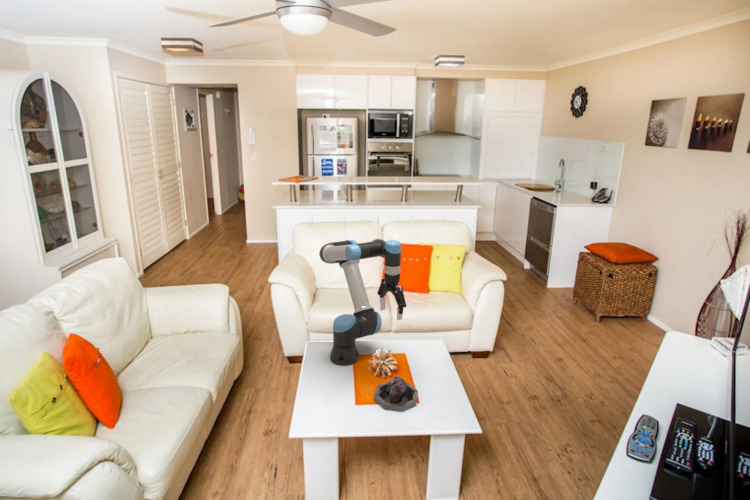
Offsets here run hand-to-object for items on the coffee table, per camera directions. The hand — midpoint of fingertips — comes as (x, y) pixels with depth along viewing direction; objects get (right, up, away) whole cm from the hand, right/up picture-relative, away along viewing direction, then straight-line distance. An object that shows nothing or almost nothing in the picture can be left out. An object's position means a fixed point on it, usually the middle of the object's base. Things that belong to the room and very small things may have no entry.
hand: (390, 314), depth 214 cm
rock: (+2, -36, -12) cm, 38 cm away
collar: (+2, -36, -12) cm, 38 cm away
